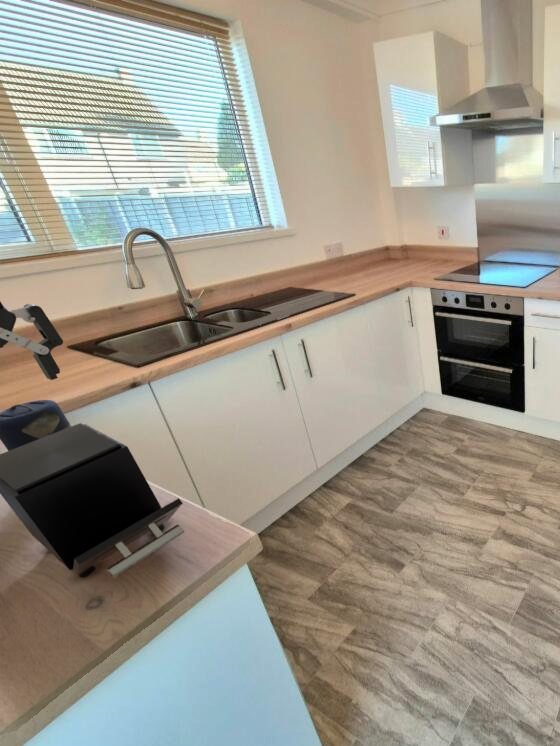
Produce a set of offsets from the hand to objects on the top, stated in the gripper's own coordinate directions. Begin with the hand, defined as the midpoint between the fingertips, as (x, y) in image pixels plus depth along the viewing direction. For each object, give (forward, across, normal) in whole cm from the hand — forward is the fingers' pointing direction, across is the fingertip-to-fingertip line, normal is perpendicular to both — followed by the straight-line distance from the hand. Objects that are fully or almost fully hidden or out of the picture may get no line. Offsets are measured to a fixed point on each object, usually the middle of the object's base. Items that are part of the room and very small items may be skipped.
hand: (11, 391), depth 59 cm
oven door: (+29, -1, +5) cm, 29 cm away
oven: (+30, -1, -4) cm, 30 cm away
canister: (+30, -4, -34) cm, 45 cm away
